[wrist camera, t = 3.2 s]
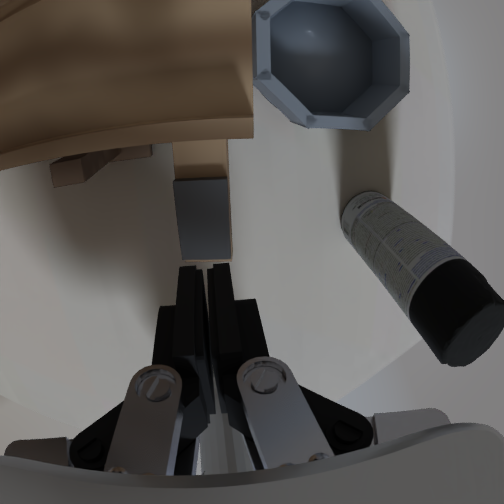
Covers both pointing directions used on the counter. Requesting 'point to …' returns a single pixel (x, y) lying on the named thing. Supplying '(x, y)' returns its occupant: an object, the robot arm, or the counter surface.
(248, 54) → the lever tray
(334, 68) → the octagonal bowl
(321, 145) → the counter surface
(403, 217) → the spray can
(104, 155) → the pivot stand
